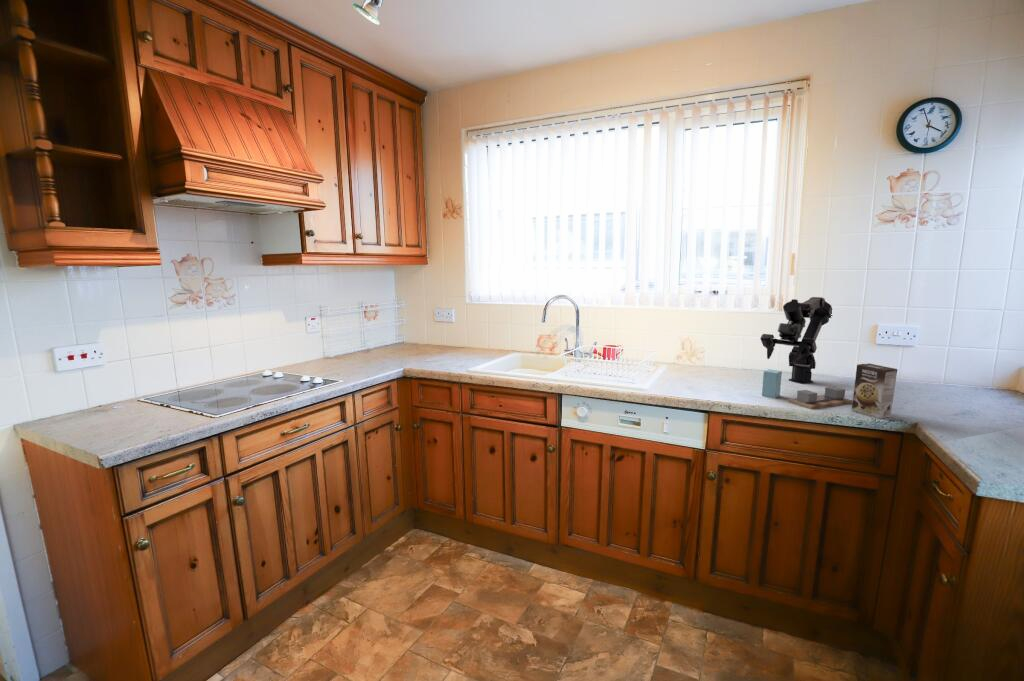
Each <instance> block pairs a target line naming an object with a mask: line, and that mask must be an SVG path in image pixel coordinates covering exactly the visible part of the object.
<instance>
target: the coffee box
mask: <svg viewBox="0 0 1024 681" xmlns="http://www.w3.org/2000/svg"><path fill="white" fill-rule="evenodd" d="M897 376H898V369H897V368H893V367H889V366H884V365H879V364H874V363H860V364H859V363H858V364H857V365H856V371H855V380H854V388H853V397H852V400H853V403H851V404H852V405H851V411H852V412H854V411H855V413H859V414H861V415H865V416H869V417H871V418H876V419H884V418H889V417H890V418H891V417H892V410H893V403H894V396H895V395H894V394H895V388H896V383H897Z"/></svg>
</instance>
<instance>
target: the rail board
mask: <svg viewBox="0 0 1024 681" xmlns="http://www.w3.org/2000/svg"><path fill="white" fill-rule="evenodd" d="M819 396H825V394H819V395H818V394H817V397H819ZM787 402H788V403H790V404H793V405H797V406H800V407H803V408H805V409H809V410H814V409H820V408H821V407H822V408H826V407H827V408H828V406H829V407H835V406H834V405H836V406H842V405H841V404H843V405H848V403H850V404H852V403H853V399H849V398H846V397H844V399H838V400H830V401H823V402H816V403H809V404H805V403H802V402H799V401H797V397H796V398H790V399H789V398H788V401H787Z"/></svg>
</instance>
